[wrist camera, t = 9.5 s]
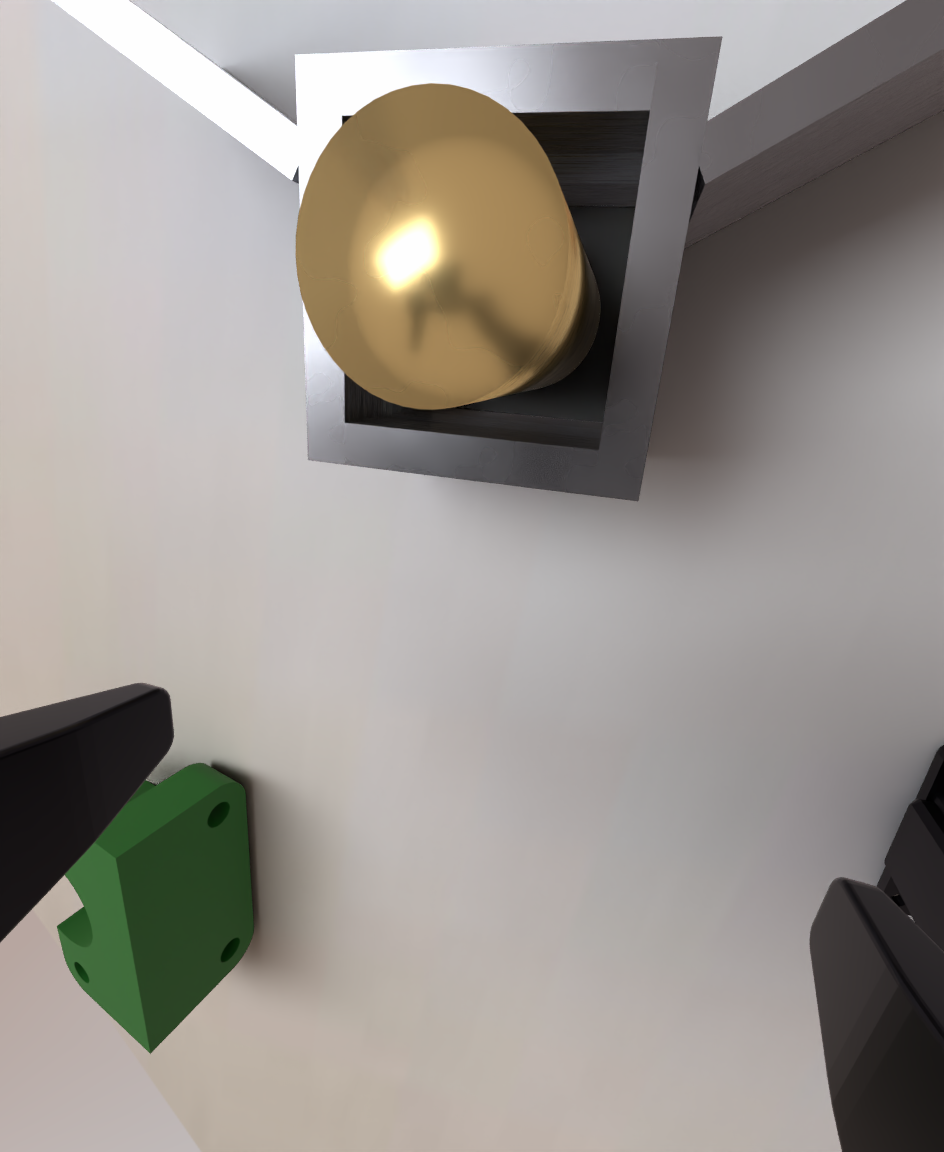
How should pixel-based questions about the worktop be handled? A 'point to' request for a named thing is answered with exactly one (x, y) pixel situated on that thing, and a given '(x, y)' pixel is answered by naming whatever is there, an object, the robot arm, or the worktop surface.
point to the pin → (443, 253)
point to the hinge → (571, 197)
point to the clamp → (163, 902)
